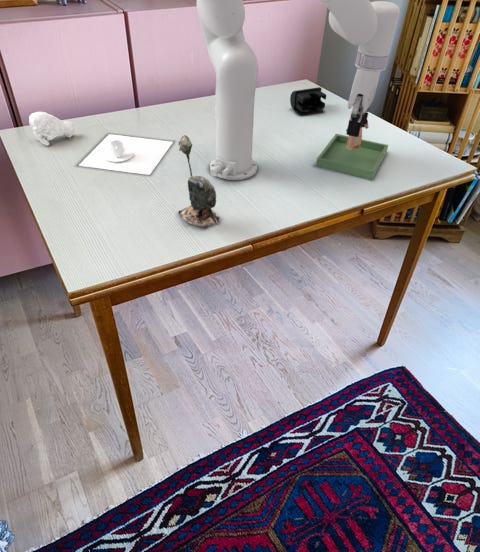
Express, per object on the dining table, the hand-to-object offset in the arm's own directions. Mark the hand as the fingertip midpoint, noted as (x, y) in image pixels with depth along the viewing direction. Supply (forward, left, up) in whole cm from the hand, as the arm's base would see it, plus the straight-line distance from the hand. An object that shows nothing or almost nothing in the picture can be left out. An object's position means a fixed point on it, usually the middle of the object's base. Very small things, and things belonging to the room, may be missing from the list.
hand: (355, 130), depth 124 cm
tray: (0, -1, -9) cm, 9 cm away
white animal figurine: (-30, +79, -9) cm, 85 cm away
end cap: (+27, +22, -9) cm, 37 cm away
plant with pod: (-46, +22, -9) cm, 52 cm away
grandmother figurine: (0, 0, -5) cm, 5 cm away
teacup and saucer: (-27, +56, -9) cm, 63 cm away
